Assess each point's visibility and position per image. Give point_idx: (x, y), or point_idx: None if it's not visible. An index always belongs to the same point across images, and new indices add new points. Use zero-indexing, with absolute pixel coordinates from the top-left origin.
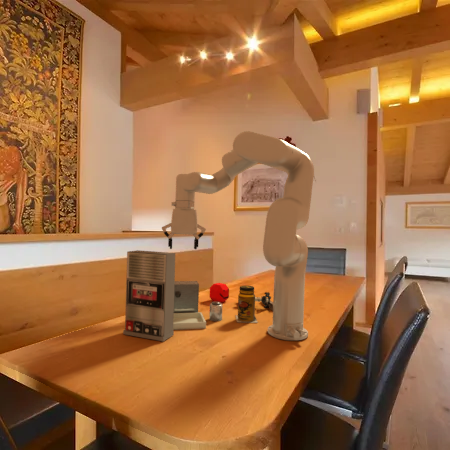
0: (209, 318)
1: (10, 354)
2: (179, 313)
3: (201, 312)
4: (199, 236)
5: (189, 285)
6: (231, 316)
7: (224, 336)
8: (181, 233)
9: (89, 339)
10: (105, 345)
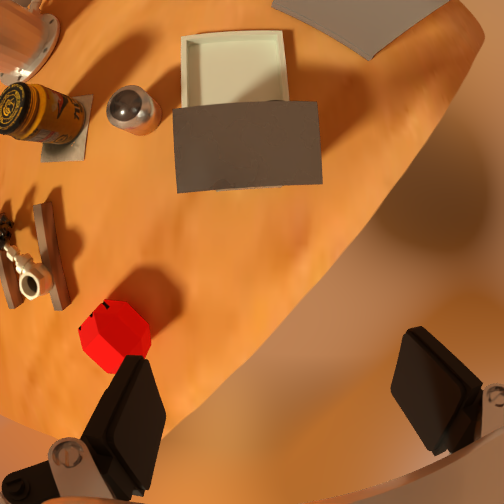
0: (161, 115)
1: (481, 31)
2: None
3: None
4: (50, 473)
5: (222, 104)
6: (95, 149)
7: (150, 6)
8: (413, 480)
9: (428, 37)
10: None
